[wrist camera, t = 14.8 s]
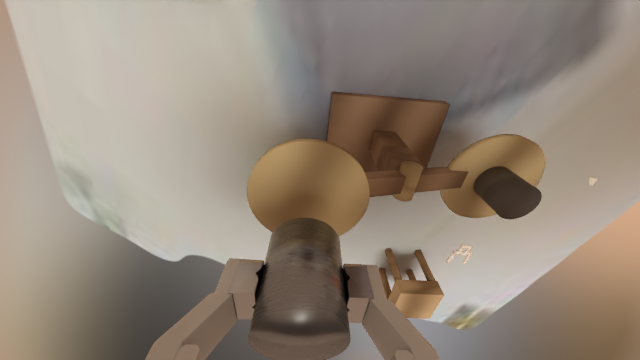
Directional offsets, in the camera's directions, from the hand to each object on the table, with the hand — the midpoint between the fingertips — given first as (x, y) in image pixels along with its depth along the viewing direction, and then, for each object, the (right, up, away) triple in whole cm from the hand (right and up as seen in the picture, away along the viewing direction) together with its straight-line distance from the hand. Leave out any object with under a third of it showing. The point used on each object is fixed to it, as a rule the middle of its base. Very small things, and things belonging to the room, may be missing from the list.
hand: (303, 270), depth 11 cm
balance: (+8, +9, +16) cm, 20 cm away
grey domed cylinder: (0, +1, +1) cm, 2 cm away
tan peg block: (+14, -9, +27) cm, 32 cm away
